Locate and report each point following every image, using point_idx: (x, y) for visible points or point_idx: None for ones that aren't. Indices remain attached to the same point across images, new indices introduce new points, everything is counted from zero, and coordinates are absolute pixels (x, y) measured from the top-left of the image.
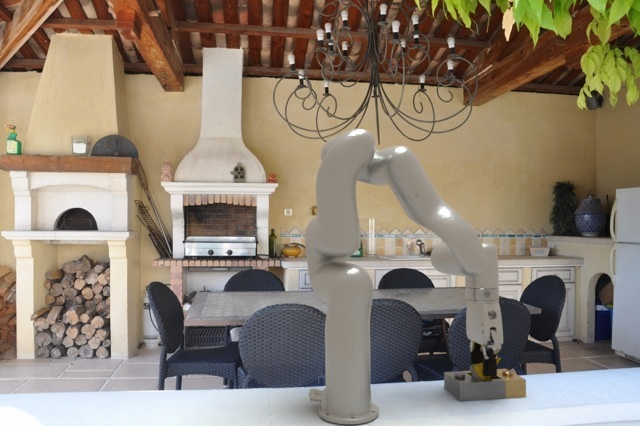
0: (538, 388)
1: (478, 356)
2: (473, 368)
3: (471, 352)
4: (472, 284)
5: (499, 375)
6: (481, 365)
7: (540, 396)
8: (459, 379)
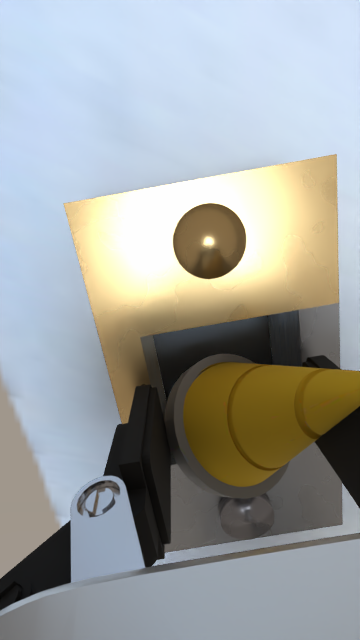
0: (145, 25)
1: (162, 479)
2: (265, 487)
3: (160, 558)
4: None
5: (228, 302)
6: (286, 462)
7: (285, 85)
8: (282, 514)
